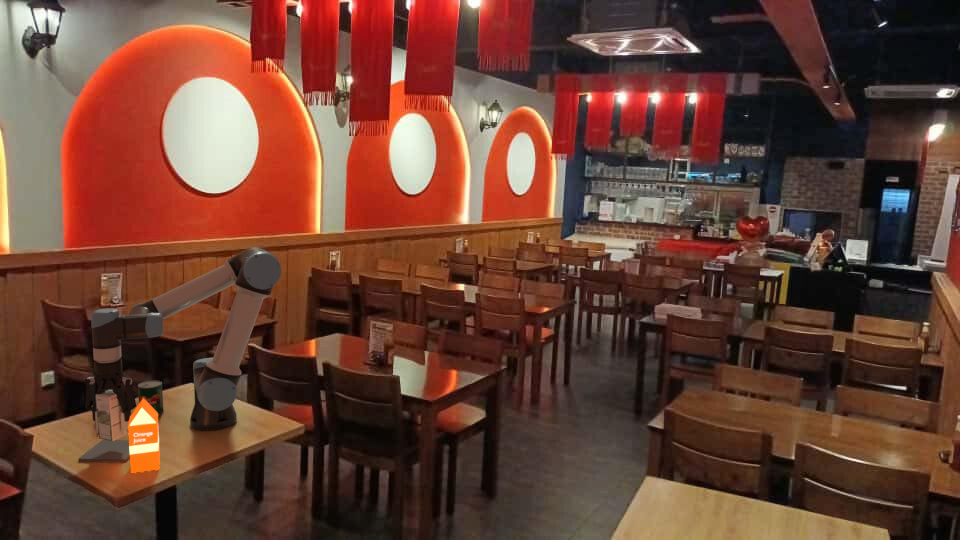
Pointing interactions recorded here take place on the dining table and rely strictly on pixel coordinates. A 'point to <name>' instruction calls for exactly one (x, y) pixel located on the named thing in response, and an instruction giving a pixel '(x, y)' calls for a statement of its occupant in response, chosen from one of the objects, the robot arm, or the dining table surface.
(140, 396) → the canned tomato
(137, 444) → the orange juice
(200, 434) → the dining table surface
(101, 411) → the syrup box
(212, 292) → the robot arm
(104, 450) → the mat
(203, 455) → the dining table surface
